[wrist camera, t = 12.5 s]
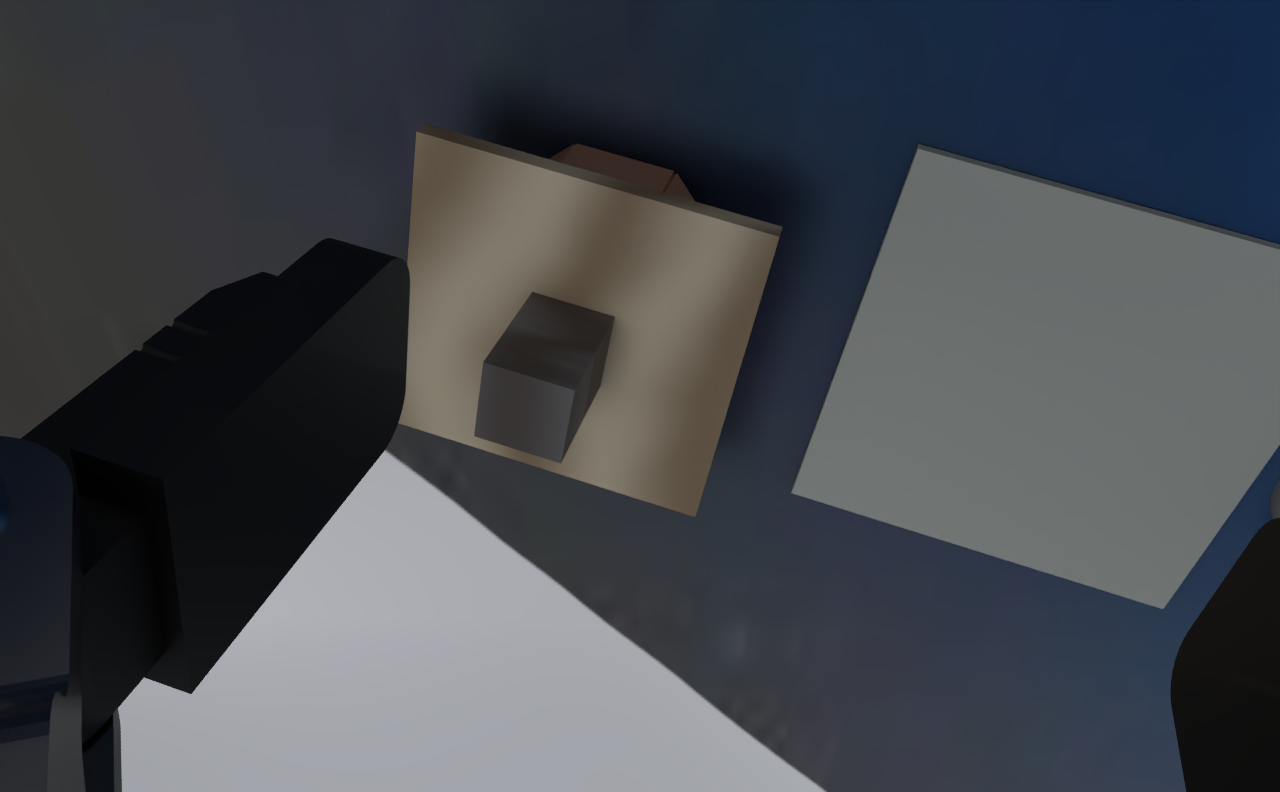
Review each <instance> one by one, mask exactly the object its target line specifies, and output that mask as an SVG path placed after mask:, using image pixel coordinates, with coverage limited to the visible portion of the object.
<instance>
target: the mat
mask: <svg viewBox="0 0 1280 792" xmlns="http://www.w3.org/2000/svg"><path fill="white" fill-rule="evenodd" d="M1279 445H1280V244H1276V243H1273V242H1269V241H1265V240H1262V239H1258V238H1255V237H1251V236H1248V235H1244V234H1240V233H1237V232H1233V231H1230V230H1226V229H1222V228H1219V227H1215V226H1212V225H1208V224H1204V223H1201V222H1197V221H1194V220H1190V219H1187V218H1183V217H1179V216H1176V215H1172V214H1169V213H1165V212H1161V211H1158V210H1154V209H1151V208H1147V207H1143V206H1140V205H1136V204H1133V203H1129V202H1126V201H1122V200H1118V199H1115V198H1111V197H1108V196H1104V195H1100V194H1097V193H1093V192H1090V191H1086V190H1082V189H1079V188H1075V187H1072V186H1068V185H1065V184H1061V183H1057V182H1054V181H1050V180H1047V179H1043V178H1039V177H1036V176H1032V175H1029V174H1025V173H1021V172H1018V171H1014V170H1011V169H1007V168H1004V167H1000V166H996V165H993V164H989V163H986V162H982V161H978V160H975V159H971V158H968V157H964V156H961V155H957V154H953V153H950V152H946V151H943V150H939V149H935V148H932V147H928V146H925V145H921V144H918V147H917V149H916V152H915V155H914V157H913V160H912V163H911V166H910V168H909V171H908V174H907V177H906V179H905V182H904V185H903V187H902V190H901V193H900V196H899V198H898V201H897V204H896V207H895V209H894V212H893V215H892V217H891V220H890V223H889V226H888V228H887V231H886V234H885V237H884V239H883V242H882V245H881V247H880V250H879V253H878V256H877V258H876V261H875V264H874V267H873V269H872V272H871V275H870V277H869V280H868V283H867V286H866V288H865V291H864V294H863V297H862V299H861V302H860V305H859V307H858V310H857V313H856V316H855V318H854V321H853V324H852V327H851V329H850V332H849V335H848V337H847V340H846V343H845V346H844V348H843V351H842V354H841V356H840V359H839V362H838V365H837V367H836V370H835V373H834V376H833V378H832V381H831V384H830V386H829V389H828V392H827V395H826V397H825V400H824V403H823V406H822V408H821V411H820V414H819V416H818V419H817V422H816V425H815V427H814V430H813V433H812V436H811V438H810V441H809V444H808V446H807V449H806V452H805V455H804V457H803V460H802V463H801V466H800V468H799V471H798V474H797V476H796V479H795V482H794V485H793V488H792V493H793V494H796V495H799V496H802V497H806V498H809V499H812V500H815V501H818V502H822V503H825V504H828V505H831V506H835V507H838V508H841V509H844V510H847V511H851V512H854V513H857V514H860V515H863V516H867V517H870V518H873V519H876V520H879V521H883V522H886V523H889V524H892V525H895V526H899V527H902V528H905V529H908V530H911V531H915V532H918V533H921V534H924V535H927V536H931V537H934V538H937V539H940V540H943V541H947V542H950V543H953V544H956V545H959V546H963V547H966V548H969V549H972V550H975V551H979V552H982V553H985V554H988V555H991V556H995V557H998V558H1001V559H1004V560H1007V561H1011V562H1014V563H1017V564H1020V565H1023V566H1027V567H1030V568H1033V569H1036V570H1039V571H1043V572H1046V573H1049V574H1052V575H1055V576H1059V577H1062V578H1065V579H1068V580H1071V581H1075V582H1078V583H1081V584H1084V585H1087V586H1091V587H1094V588H1097V589H1100V590H1103V591H1107V592H1110V593H1113V594H1116V595H1119V596H1123V597H1126V598H1129V599H1132V600H1135V601H1139V602H1142V603H1145V604H1148V605H1151V606H1155V607H1158V608H1161V609H1164V607H1165V606H1166V605H1167V603H1168V602H1169V600H1170V599H1171V597H1172V596H1173V595H1174V593H1175V592H1176V590H1177V589H1178V588H1179V586H1180V585H1181V583H1182V582H1183V581H1184V579H1185V578H1186V576H1187V575H1188V573H1189V572H1190V571H1191V569H1192V568H1193V566H1194V565H1195V564H1196V562H1197V561H1198V559H1199V558H1200V556H1201V555H1202V554H1203V552H1204V551H1205V549H1206V548H1207V547H1208V545H1209V544H1210V542H1211V541H1212V540H1213V538H1214V537H1215V535H1216V534H1217V532H1218V531H1219V530H1220V528H1221V527H1222V525H1223V524H1224V523H1225V521H1226V520H1227V518H1228V517H1229V515H1230V514H1231V513H1232V511H1233V510H1234V508H1235V507H1236V506H1237V504H1238V503H1239V501H1240V500H1241V499H1242V497H1243V496H1244V494H1245V493H1246V491H1247V490H1248V489H1249V487H1250V486H1251V484H1252V483H1253V482H1254V480H1255V479H1256V477H1257V476H1258V475H1259V473H1260V472H1261V470H1262V469H1263V467H1264V466H1265V465H1266V463H1267V462H1268V460H1269V459H1270V458H1271V456H1272V455H1273V453H1274V452H1275V450H1276V449H1277V448H1278V446H1279Z"/></svg>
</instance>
